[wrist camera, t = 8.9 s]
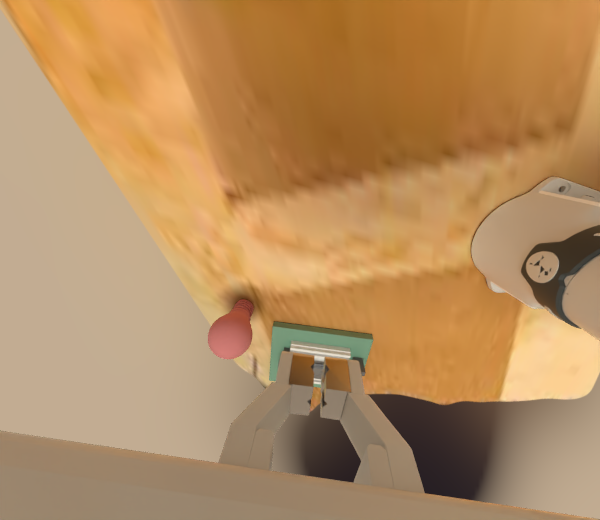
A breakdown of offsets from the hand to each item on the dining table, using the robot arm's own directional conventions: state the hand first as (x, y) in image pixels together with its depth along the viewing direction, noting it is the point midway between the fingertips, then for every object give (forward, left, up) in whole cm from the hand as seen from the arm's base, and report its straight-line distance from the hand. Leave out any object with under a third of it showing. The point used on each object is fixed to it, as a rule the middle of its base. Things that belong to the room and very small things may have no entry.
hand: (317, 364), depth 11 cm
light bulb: (+12, +21, -30) cm, 39 cm away
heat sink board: (-4, +32, -30) cm, 44 cm away
